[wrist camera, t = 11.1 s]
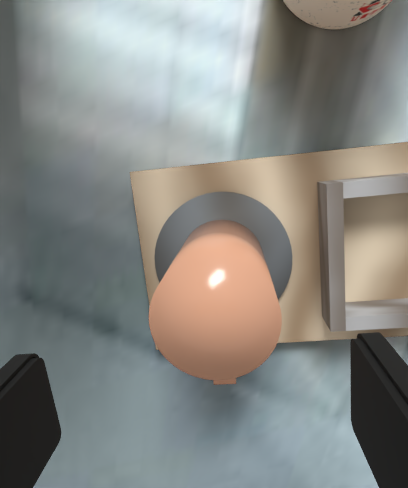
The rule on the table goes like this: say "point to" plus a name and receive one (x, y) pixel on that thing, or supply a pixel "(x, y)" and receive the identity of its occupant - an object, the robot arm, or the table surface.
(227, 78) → the table surface
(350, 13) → the teacup with lid
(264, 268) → the peach rounded peg
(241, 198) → the board
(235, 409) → the table surface
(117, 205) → the table surface
